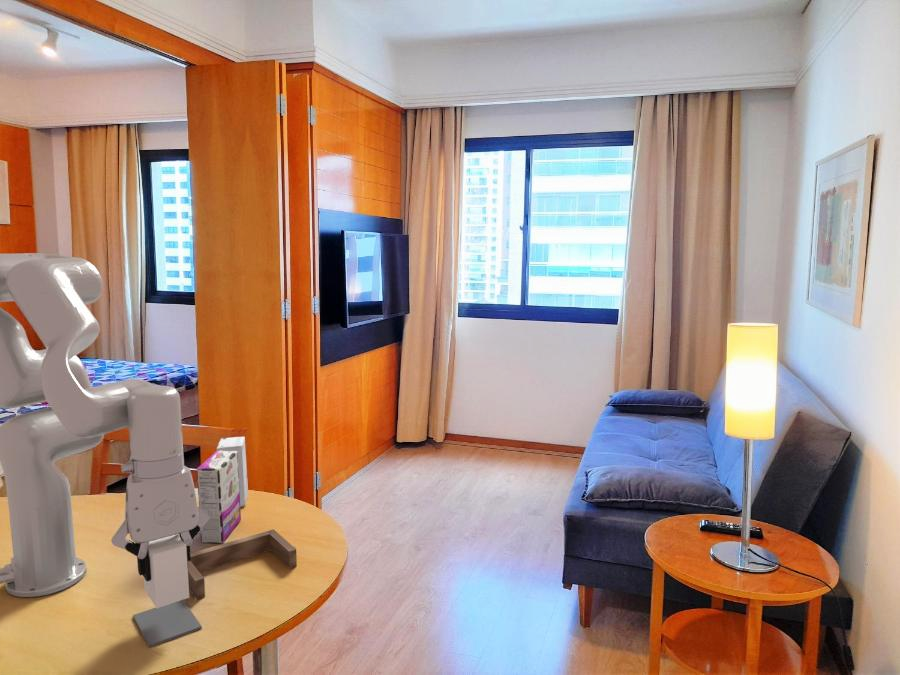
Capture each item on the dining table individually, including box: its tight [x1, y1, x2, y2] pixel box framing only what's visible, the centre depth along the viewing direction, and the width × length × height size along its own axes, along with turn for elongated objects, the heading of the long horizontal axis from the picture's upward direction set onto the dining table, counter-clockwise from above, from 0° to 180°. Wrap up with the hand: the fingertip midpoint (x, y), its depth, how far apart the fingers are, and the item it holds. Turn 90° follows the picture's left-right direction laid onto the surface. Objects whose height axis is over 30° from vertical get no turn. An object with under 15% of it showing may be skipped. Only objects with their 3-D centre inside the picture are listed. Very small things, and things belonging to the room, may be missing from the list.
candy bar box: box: [196, 450, 242, 544], centre depth 137 cm, size 11×5×16 cm, turn 179°
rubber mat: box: [132, 599, 203, 648], centre depth 106 cm, size 8×10×1 cm
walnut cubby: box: [188, 529, 298, 600], centre depth 122 cm, size 19×10×4 cm, turn 129°
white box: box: [143, 534, 190, 608], centre depth 104 cm, size 5×7×9 cm
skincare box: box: [216, 436, 249, 508], centre depth 153 cm, size 8×6×15 cm
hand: (165, 570), depth 104 cm, fingers closed on white box, 5 cm apart
